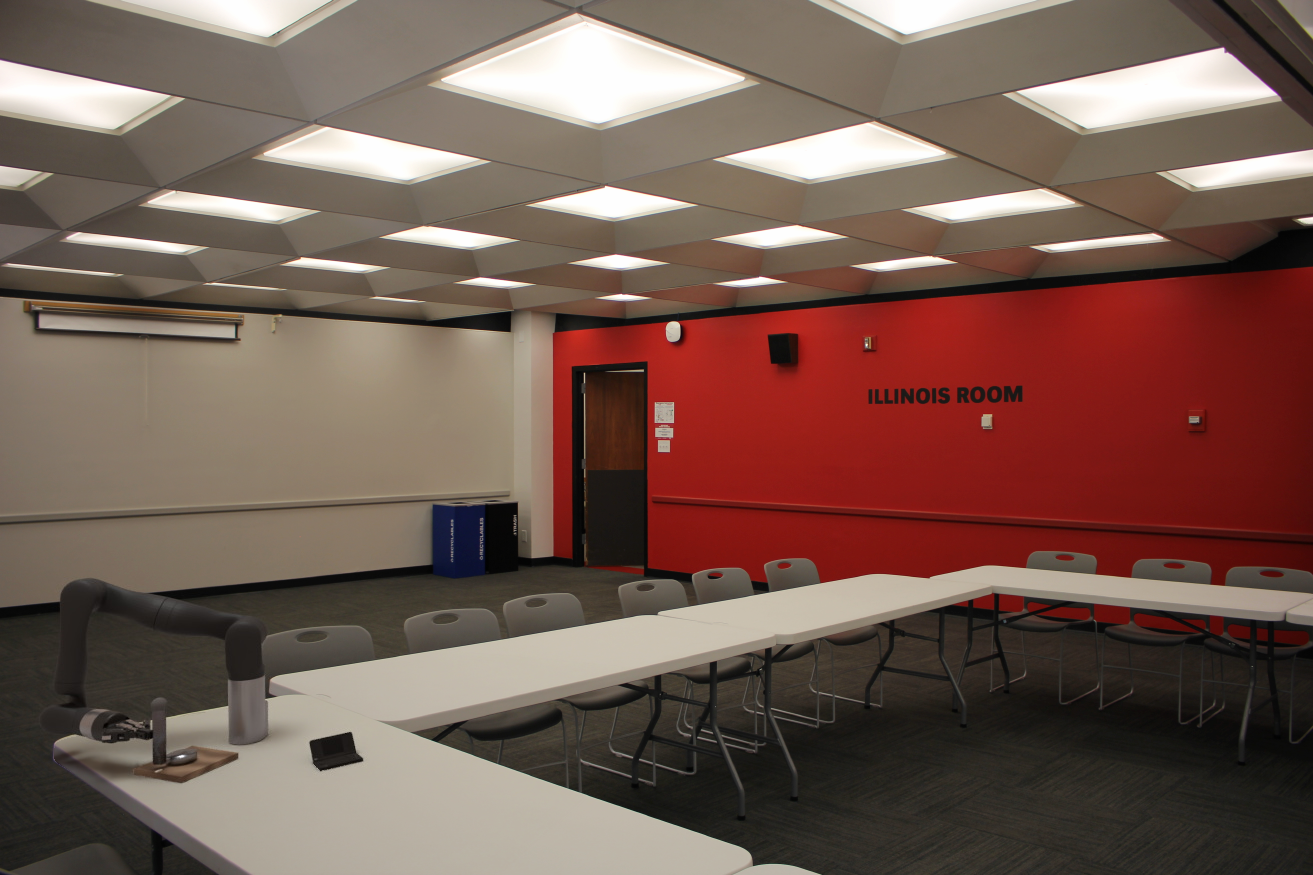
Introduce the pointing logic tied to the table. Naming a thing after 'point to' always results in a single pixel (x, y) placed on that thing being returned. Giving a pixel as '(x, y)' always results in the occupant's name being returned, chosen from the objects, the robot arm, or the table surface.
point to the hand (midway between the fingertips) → (150, 735)
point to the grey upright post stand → (160, 738)
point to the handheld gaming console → (334, 751)
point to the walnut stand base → (188, 765)
